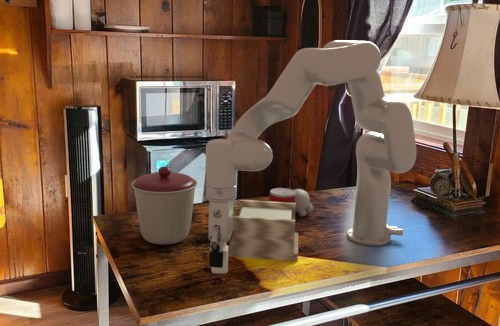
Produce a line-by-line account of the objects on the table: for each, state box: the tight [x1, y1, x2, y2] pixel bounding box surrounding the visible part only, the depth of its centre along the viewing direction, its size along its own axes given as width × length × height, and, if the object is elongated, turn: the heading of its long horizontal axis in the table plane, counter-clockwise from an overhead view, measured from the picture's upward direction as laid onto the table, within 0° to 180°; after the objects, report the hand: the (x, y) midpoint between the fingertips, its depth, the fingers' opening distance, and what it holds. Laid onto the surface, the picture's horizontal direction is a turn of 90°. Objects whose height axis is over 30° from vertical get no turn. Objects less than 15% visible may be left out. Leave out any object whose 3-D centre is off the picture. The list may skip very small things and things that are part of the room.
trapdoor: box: [240, 206, 292, 220], centre depth 135 cm, size 14×12×2 cm
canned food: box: [268, 187, 296, 203], centre depth 152 cm, size 8×8×11 cm
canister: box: [130, 165, 199, 246], centre depth 138 cm, size 18×18×21 cm
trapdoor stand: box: [228, 199, 299, 262], centre depth 135 cm, size 18×15×11 cm
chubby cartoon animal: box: [293, 188, 314, 218], centre depth 162 cm, size 7×12×8 cm, turn 118°
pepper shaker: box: [210, 237, 229, 275], centre depth 121 cm, size 4×4×10 cm
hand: (219, 258), depth 121 cm, fingers open, 9 cm apart
